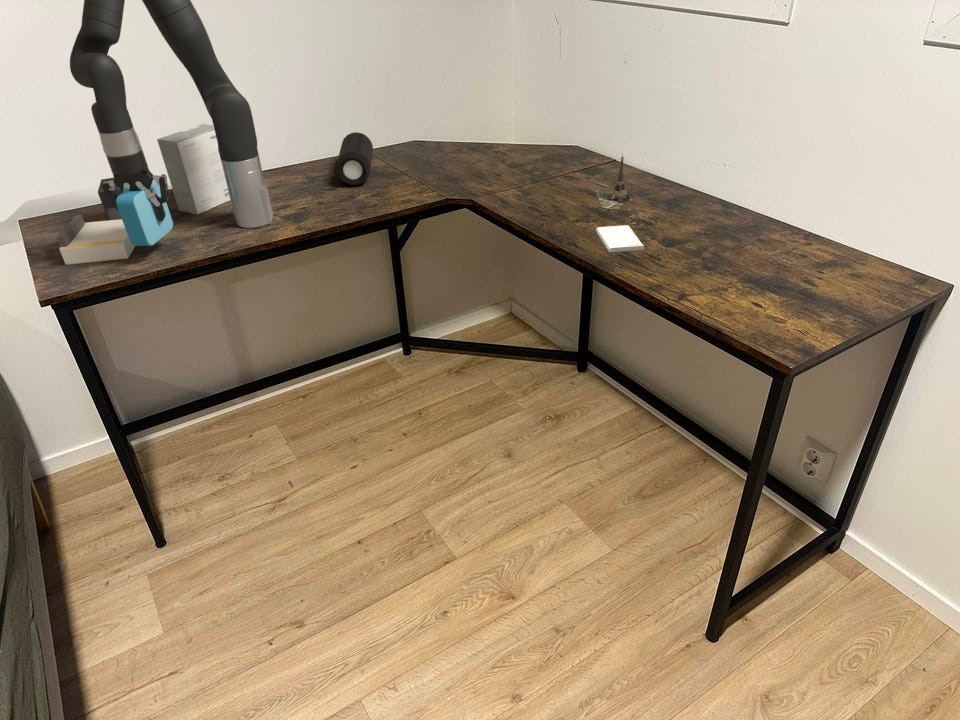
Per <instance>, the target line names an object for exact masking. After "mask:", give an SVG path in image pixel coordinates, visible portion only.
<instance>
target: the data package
mask: <svg viewBox="0 0 960 720" xmlns="http://www.w3.org/2000/svg"><path fill="white" fill-rule="evenodd" d="M151 187H152V188H153V189H154V190H155V191H156V193H157V195H158V196H159V197H161V192H160V186H159V185H157V184H156V182H155V181H153V182H152V184H151ZM151 187H150V189H149V191H150V192H152V188H151ZM116 204H117V207H118V210H119V213H120V215H121V218H122V221H123V223H124V226H125V229H126V232H127V234H128V237H129V240H130V242H131V244H132V245H134V246H135V247H139V246H141V247H142V246H143V247H145V246H146V247H148V246H150V247H152V246H154V245H155V244H156V243H158V242H159V240H161V239H162V238H163V237H165V236H166V235H168V233H169V232H170V231H172V230H173V227H174V221H173V219H172V215H171V212H170V209H169V206H168V204H167V202H166V203H163V207H164V210H165V213H166V216H165V218H164V220H163V221H159V218H158V215H157V213H156V210H155V205H154V204H153V202H152V201H151V200H150V199H148V198H147V197H146V195H145V192H144V191H141V190H136V191H130V192H126V193H122V194H121V195H119V196H118V197H117V199H116Z"/></svg>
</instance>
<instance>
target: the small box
mask: <svg viewBox="0 0 960 720" xmlns="http://www.w3.org/2000/svg"><path fill="white" fill-rule="evenodd" d="M113 178H114V177H108V178H102V179H100V183H99V185H98V190H97V194H98V197H99V199H100V202H101V205H102V208H103V210H104V213H105V215H106V218H107V221H109V220H119V219H122V218H121V215H120V213H119V210H118V208H114V207H113V205H112V203H111V202H110V200H109V198H108V197H107V195H106V193H105V192H104V190H103V188H102V184H103V183H104V182H105V181H111V180H113ZM114 190H115V192H116V194H117V195H118V196H119V195H121V194H122V193H123V191H122V190H121V189H120V188H119V187H117V186H116V185H115V189H114Z"/></svg>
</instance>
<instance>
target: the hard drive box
mask: <svg viewBox="0 0 960 720" xmlns="http://www.w3.org/2000/svg"><path fill="white" fill-rule="evenodd" d="M156 140H157V145H158V146H159V147H158V148H159V150H160V154H161V156H162V160H163V163H164V166H165V170H166V173H167V175H168V179H169V182H170V184H171V185H170V186H171V188H172V191H173V195H174V199H175V202H176V205H177V207H178V210H179V212H183V213H186V214H187V213H188V214H192V215H195V216H196V215H199V214H201V213H205V212H207V211H209V210H211V209H213V208H215V207H218V206H220V205H222V204H225V203H227V202H231V199H230V195H229V191H228V187H227V183H226V179H225V175H224V171H223V167H222V163H221V159H220V155H219V151H218V142H217V138H216V134H215V129H214V125H212V124H205V123H201V124H198V125H195V126H192V127H189V128H185V129H182V130H180V131H178V132H174V133H172V134H169V135H166V136H162V137H160V138H157V139H156Z"/></svg>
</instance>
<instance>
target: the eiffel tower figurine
mask: <svg viewBox="0 0 960 720" xmlns="http://www.w3.org/2000/svg"><path fill="white" fill-rule="evenodd" d="M624 158H625V157H624V155H623V154H622V155H621V157H620V165H619V170H618V177H617V180H616V182H615V183H616V184H615V186H614V188H613V189H612V190H611V193H610V194H609V195H608V197H607V198H605V197H602V196H603V195H604V194H607V192H606V191H604V190H595V192H594V193H595V195H596V199H598V202H599V206H600V207H601V208H605V209H609V210H618V209H620V208H621V207H620V206H622V205H624V204H627V203H630V202H631V201H633V198H631V197H630V195H629V193H628V191H627V188H626V187H625V181H624V160H625V159H624ZM624 196H625V197H624ZM631 210H640V208H639V207H638V208H629V207H626V211H631Z"/></svg>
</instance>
